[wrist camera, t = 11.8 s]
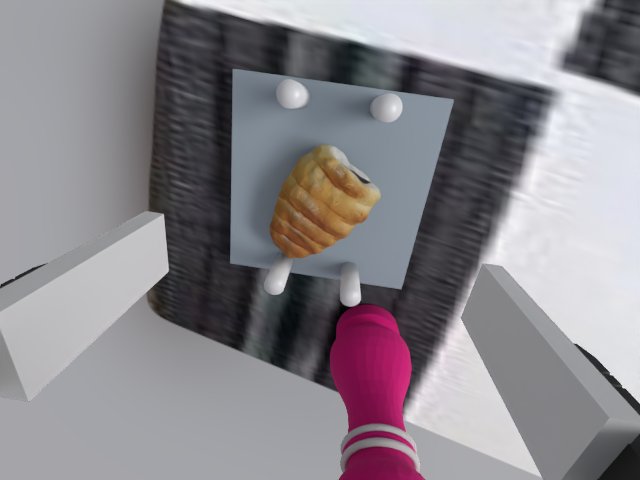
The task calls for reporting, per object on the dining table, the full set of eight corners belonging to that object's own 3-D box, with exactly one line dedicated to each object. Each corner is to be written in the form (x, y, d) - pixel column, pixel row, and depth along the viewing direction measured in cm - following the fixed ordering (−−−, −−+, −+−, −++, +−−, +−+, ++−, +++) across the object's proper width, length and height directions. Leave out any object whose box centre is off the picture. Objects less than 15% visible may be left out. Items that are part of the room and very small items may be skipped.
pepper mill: (403, 298, 30) (493, 595, 12) (401, 355, 33) (471, 667, 15) (329, 300, 31) (305, 582, 12) (334, 355, 34) (320, 653, 15)
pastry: (314, 266, 28) (309, 288, 25) (253, 221, 27) (239, 237, 23) (385, 187, 25) (392, 200, 21) (320, 131, 23) (315, 135, 20)
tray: (238, 70, 23) (207, 59, 18) (448, 99, 23) (479, 97, 18) (234, 257, 30) (210, 289, 24) (399, 282, 29) (410, 320, 24)
